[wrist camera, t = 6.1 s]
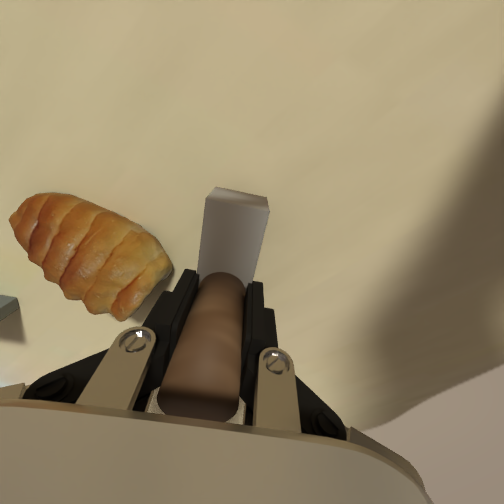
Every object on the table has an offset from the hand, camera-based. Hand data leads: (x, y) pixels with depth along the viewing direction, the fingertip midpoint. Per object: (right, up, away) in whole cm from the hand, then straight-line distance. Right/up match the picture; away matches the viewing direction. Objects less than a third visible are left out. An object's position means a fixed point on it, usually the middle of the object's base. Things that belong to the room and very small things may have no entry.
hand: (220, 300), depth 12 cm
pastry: (-8, +3, +5) cm, 10 cm away
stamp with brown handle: (0, +2, +3) cm, 4 cm away
